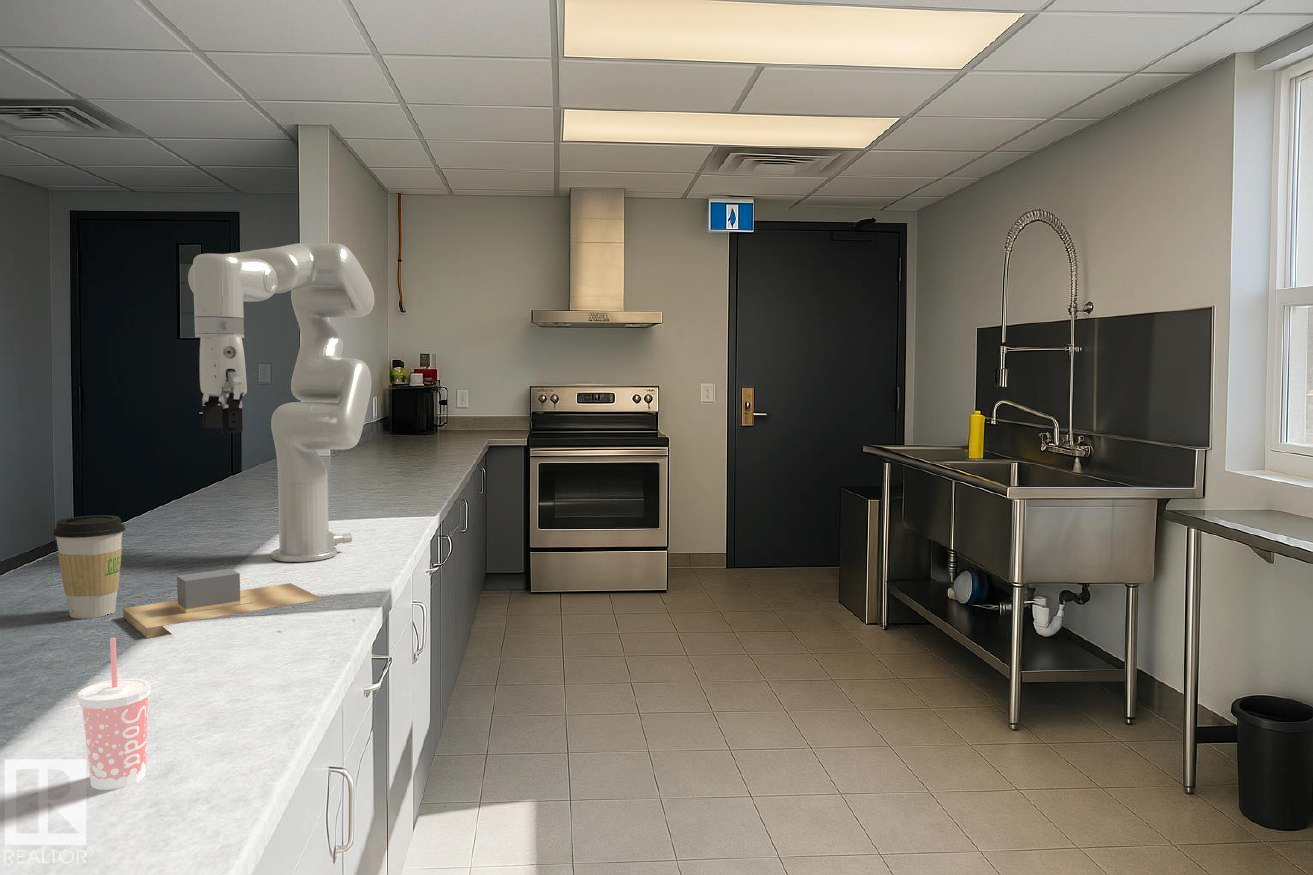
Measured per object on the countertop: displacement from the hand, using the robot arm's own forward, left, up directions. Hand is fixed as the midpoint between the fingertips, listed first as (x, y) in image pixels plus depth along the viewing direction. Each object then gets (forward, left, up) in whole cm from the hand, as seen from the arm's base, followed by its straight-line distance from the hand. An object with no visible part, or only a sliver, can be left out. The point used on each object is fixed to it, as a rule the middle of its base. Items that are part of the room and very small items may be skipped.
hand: (222, 430), depth 159 cm
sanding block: (+6, +12, -27) cm, 30 cm away
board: (+4, +12, -28) cm, 31 cm away
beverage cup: (+31, +67, -28) cm, 79 cm away
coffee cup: (+20, -1, -28) cm, 35 cm away
